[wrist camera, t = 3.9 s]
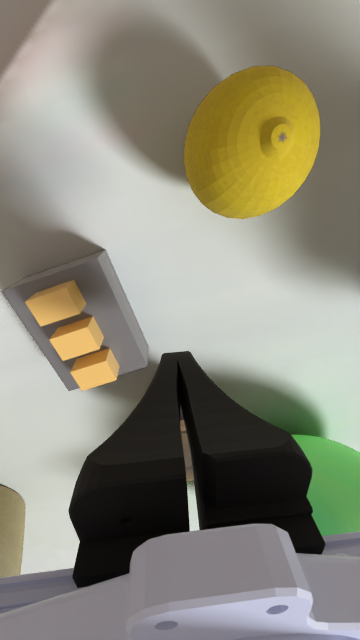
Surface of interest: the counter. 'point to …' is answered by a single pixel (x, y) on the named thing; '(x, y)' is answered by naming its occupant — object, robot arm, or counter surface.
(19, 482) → the counter surface
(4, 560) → the plant pot
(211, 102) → the lemon
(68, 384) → the breaker strip
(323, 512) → the green toy teapot
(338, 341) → the counter surface
